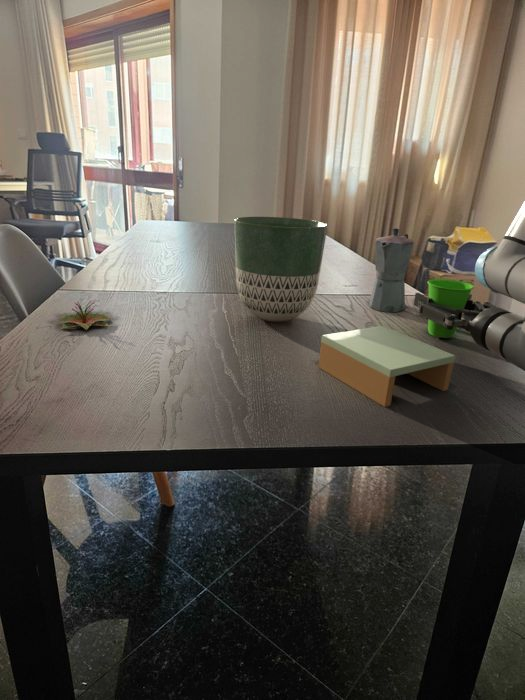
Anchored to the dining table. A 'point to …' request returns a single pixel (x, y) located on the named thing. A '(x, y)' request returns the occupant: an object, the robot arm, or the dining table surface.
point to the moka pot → (391, 272)
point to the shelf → (382, 361)
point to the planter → (278, 264)
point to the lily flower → (83, 318)
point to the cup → (447, 301)
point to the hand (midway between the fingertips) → (434, 298)
